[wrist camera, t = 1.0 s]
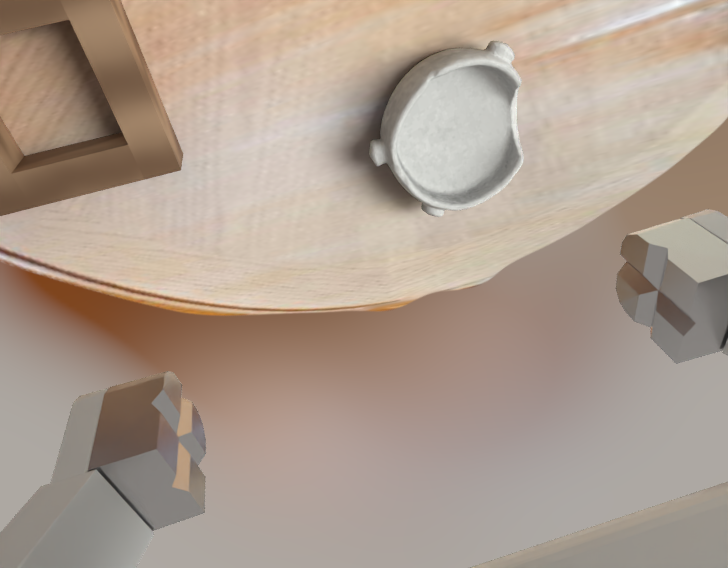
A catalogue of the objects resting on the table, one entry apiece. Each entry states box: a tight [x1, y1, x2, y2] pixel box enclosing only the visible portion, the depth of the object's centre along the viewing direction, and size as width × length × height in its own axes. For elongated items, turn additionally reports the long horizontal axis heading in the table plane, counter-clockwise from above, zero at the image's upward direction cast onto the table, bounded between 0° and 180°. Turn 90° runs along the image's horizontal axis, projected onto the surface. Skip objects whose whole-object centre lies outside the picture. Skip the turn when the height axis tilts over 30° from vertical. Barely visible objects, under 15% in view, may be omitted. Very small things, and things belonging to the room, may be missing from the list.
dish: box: [369, 41, 524, 217], centre depth 48 cm, size 14×14×5 cm
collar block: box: [0, 0, 183, 216], centre depth 39 cm, size 15×15×4 cm
